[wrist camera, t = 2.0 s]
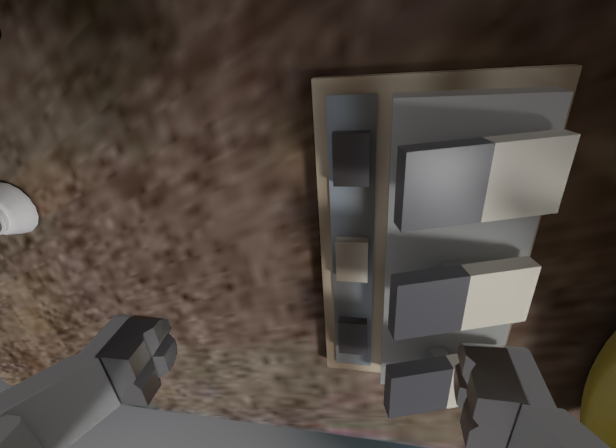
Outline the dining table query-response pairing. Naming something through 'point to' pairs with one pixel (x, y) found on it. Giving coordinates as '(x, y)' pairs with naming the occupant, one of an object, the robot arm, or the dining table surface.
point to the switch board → (376, 190)
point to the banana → (601, 395)
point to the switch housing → (470, 237)
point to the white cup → (16, 211)
